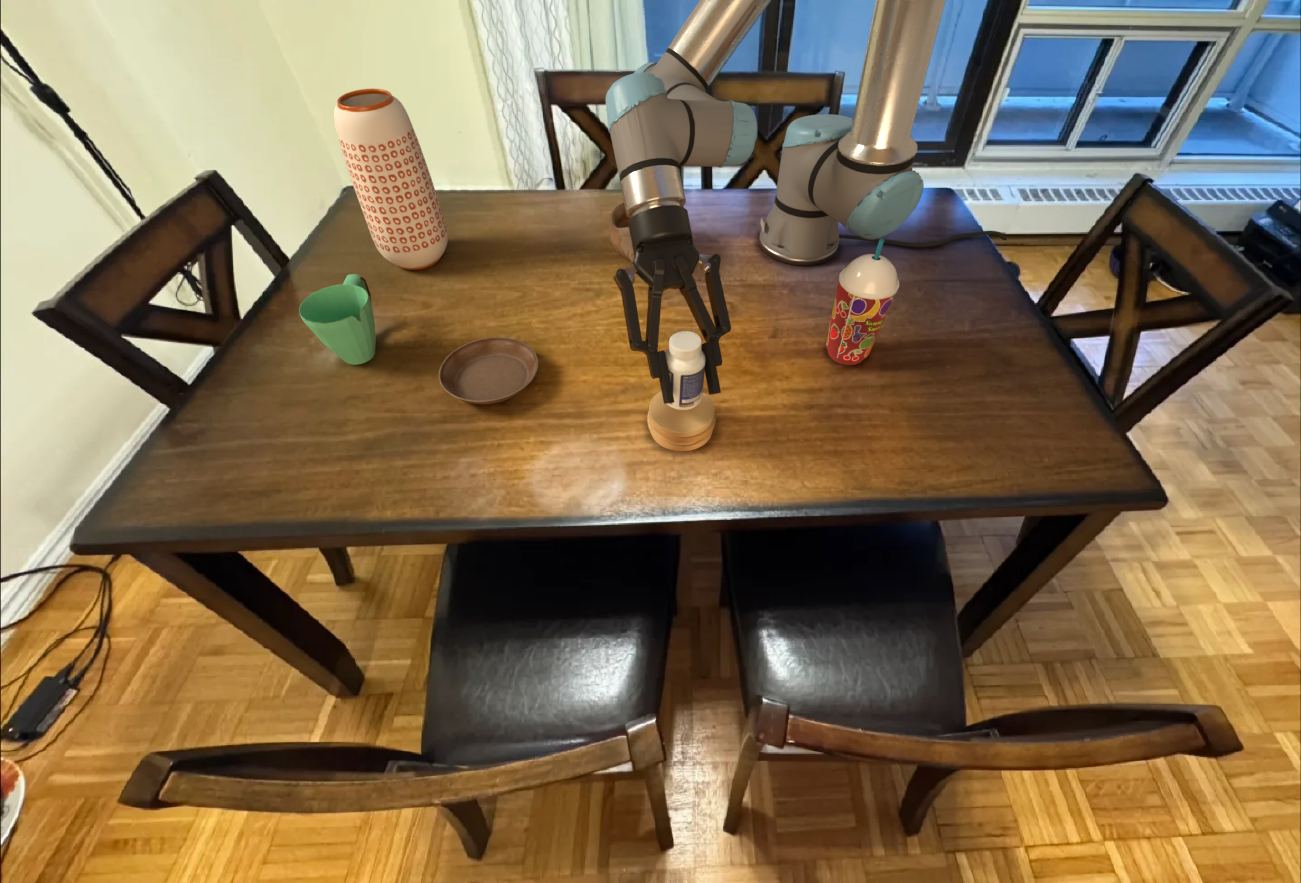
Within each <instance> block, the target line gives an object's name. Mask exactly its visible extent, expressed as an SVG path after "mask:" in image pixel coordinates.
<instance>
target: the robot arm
mask: <svg viewBox="0 0 1301 883" xmlns="http://www.w3.org/2000/svg"><path fill="white" fill-rule="evenodd" d="M771 1H772V0H699V1H698V3H697V4H696V6H695V7H694V8H693V10H692V11H691V13H690V14H689V16H688V17H687V19H686V20H685V22H684V23H683V25H681V26H682V27H681V28H680V29H679V30H678V32H677V34H676V35H675V37H674V38H673V40H672V41H671V43H670V44H669V45H668V47H667V48H666V50H665V52H664V53H663V54H662V56H661V57H660V58H659V60H658V61H657V62H656V61H651V62H650V61H649V62H646V63H644V64H642V65H641V66H639V67H638V68H637V69H636V70H635V71H634V72H633V73H630V74H627V75H625V76H622V77H620V78H619V79H617V80H616V81H614V82H613V83H612V84H611V86H610V88H609V89H608V90H607V92H606V95H605V112H606V116H607V117H606V120H607V126H608V128H607V129H608V133H609V134H610V135H609V136H610V140H611V142H612V150H613V153H614V159H615V162H616V168H617V174H618V178H619V183H620V187H621V194H622V199H623V202H624V205H625V210H626V215H627V216H628V217H629V218H631V219H630V221H629V223H628V226H629V231H630V236H631V242H632V247H633V252H634V259H633V262H631V264H630V265H628V266H626V267H625V268H618V269H617V270H616V271H615V274H614V276H613V280H614V282H615V284H616V286H617V288H618V290H619V291H620V294H621V295H620V296H621V301H622V307H623V314H624V318H625V319H624V320H625V325H626V332H627V337H628V343H629V348H630V350H631V351H633V352H639V353H640V352H641V353H643V354H645V356H646V360H647V365H648V370H649V375H650V377H651V378H652V379H653V380H654V379H658V381H659V385H660V391H662V396H663V401H664V404H668V403H673V402H674V397H673V392H672V387H671V381H670V376H669V371H668V366H667V361H666V356H665V352H666V350H664V349H663V350H658V348H659V336H660V324H661V323H660V321H661V312H662V311H661V310H662V299H663V298H662V297H663V293H664V292H665V291H668V290H678V291H679V292H680V294H681V296H682V297H683V299H684V300H685V302H686V304H687V306H688V308H689V311H690V313H691V314H692V316H693V319H694V322H695V323H696V325H697V327H698V329H699V331H700V333H701V336H702V337H703V339H704V341H705V342H703V343H702V344H701V350H702V351H703V352H704V354H705V358H706V362H705V372H704V376H705V381H706V384H707V391H708V395H716V394H721V393H722V391H721V390H722V389H721V386H720V380H719V374H718V369H717V367H720V366H722V365H723V357H722V352H721V345H720V339H721V338H722V337H723V336H725V335H727V334H729V333H730V332H731V330H732V324H731V320H730V314H729V311H728V307H727V302H726V297H725V292H724V288H723V283H722V279H721V278H722V277H721V274H720V269H721V262H722V257H721V255H720V254H719V253H713V254H712V255H710V254H704V253H700V251H699V249H698V248H697V247H696V246H695V244H694V239H693V233H692V227H691V222H690V221H691V220H690V215H689V210H688V209H687V208H686V207H684V206H685V205H686V203H687V199H686V194H685V190H684V185H683V180H682V175H681V168H680V167H698V168H699V167H702V168H703V167H706V168H707V167H708V168H709V167H713V168H714V167H717V168H724V167H733V166H739V165H742V164H744V163H745V162H747V160H748V159H749V158H750V157H751V156H752V153H753V152H754V149H755V145H756V141H757V139H758V121H757V117H756V114H755V112H754V110H753V109H752V108H751V106H750V105H749V104H747V103H743V102H738V101H734V99H733V100H732V99H729V100H726V101H725V100H724V101H723V100H719V99H716V98H715V97H713V96H712V95H710V94H708V93H707V90H708V89H709V88H710V86H711V85H712V83H713V82H714V80H715V79H716V78H717V77H718V75H719V74H720V72H721V71H722V70H723V68H724V67H725V66H726V64H727V63H728V61H729V60H730V59H731V57H732V56H733V55H734V52H736V50H737V49H738V47H739V46H740V44H741V43H742V42H743V40H744V39H745V38H746V36H747V35H748V33H749V32H750V31H751V30H752V28H753V27H754V25H755V23H756V22H757V21H758V20H759V18H760V17H761V15H762V14H763V12H765V10H766V8H767V7H768V6H769V5H770V3H771ZM946 2H947V0H874V6H873V9H872V15H871V16H872V17H871V21H870V27H869V32H868V37H867V43H866V48H865V53H864V58H863V59H864V60H863V64H862V69H861V74H860V75H861V76H860V80H859V85H858V91H857V96H856V102H855V106H854V113H853V118H852V117H849V116H845V115H841V114H831V113H830V114H828V113H827V114H825V113H824V114H823V113H822V114H821V113H820V114H819V113H818V114H811V115H805V116H801V117H799V118H795V119H794V120H793V121H791V122H790V123H789V125H788V126H787V128H786V131H785V136H784V140H783V143H782V144H781V145H782V146H781V147H782V149H781V156H780V163H779V170H778V176H777V183H776V188H775V189H776V190H775V196H774V202H773V205H772V206H771V208H770V211H769V213H768V214H767V216H766V219H765V221H764V219H763V217H762V216H761V217H760V223H759V224H760V226H761V228H760V231H759V238H758V245H759V248H760V249H761V251H762V252H763V253H764V254H765V255H766V256H768V257H770V258H772V259H773V260H776V261H778V262H780V263H783V264H788V265H793V266H814V265H819V264H824V263H825V262H828V261H830V260H831V259H832V258H833V257H835V256H836V254H837V252H838V248H839V244H840V239H844V240H845V239H846V240H855V241H864V242H871V243H879V240H880V239H881V238H883V239H884V243H883V244H887V245H888V244H889V245H893V246H894V245H895V246H900V247H901V246H902V247H909V248H930V247H937V246H940V245H944V244H946V243H950V242H952V241H955V240H959V239H963V238H972V237H979V236H986V235H987V236H988V235H993V236H996V237H998V238H1000V239H1001V240H1002V241H1008V240H1007V237H1006V235H1005V234H1003V233H1002V232H1000V231H997V230H982V231H975V232H968V233H959V234H956V235H952V236H950V237H947V238H945V239H942V240H938V241H933V242H907V241H900V240H892V239H886V238H884V237H885V236H888V235H889V234H891V233H892V232H894V231H895V230H897V229H898V228H900V226H902V225H903V223H904V222H906V221H907V220H908V219H909V217H910V216H911V215H912V213H913V212H914V211H915V210H916V209H917V206H918V204H919V203H920V201H921V199H922V196H923V193H924V187H925V186H924V184H925V183H924V179H922V175H920V173H919V172H917V171H916V170H913V169H914V168H913V167H914V163H915V159H916V157H917V153H918V144H917V142H916V140H915V139H914V137H913V136H912V135H911V134H912V131H913V127H914V123H915V119H916V116H917V111H918V108H919V105H920V100H921V96H922V92H923V90H924V85H925V82H926V81H925V80H926V79H927V78H926V77H927V74H928V70H929V66H930V63H931V62H930V61H931V59H932V55H933V51H934V47H935V43H936V40H937V36H938V32H939V28H940V24H941V20H942V17H943V14H944V13H943V12H944V9H945V5H946ZM839 224H840V225H842V226H843V227H844V228H845V229H846V230H847V231H848V232H850V233H853V234H855V235H850V234H840V232H839V231H840V230H839ZM697 265H699V267H700V271H701V272H702V273H703V274H704V280H705V287H706V290H707V296H708V299H709V304H710V309H711V313H712V317H711V315H710V313H709V311H708V309H707V307H706V304H705V302H704V300H703V298H702V296H701V293H700V291H699V290H698V284H697V282H696V280H695V278H694V276H693V274H694V272H695V269H696V267H697ZM635 275H637V276H638V277H639V278H640V279H641V280H642V281H643V282H644V283H645V284H646V285H647V286H648V289H647V311H646V325H645V339H644V340H643V338H642V336H643V335H642V331H641V326H640V319H639V312H638V307H637V301H636V300H637V299H636V293H635V288H634V283H635V282H636V277H635ZM712 318H713V319H712Z"/></svg>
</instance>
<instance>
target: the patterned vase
mask: <svg viewBox="0 0 1301 883" xmlns="http://www.w3.org/2000/svg"><path fill="white" fill-rule="evenodd" d="M336 103H337V104H336V105H335V107H334V109H333V123H334V127H335V130H336V131H335V132H336V135H337V138H338V142H339V145H340V148H341V152H342V156H343V159H344V161H345V165H346V167H347V170H348V174H349V177H350V181H351V183H352V187H353V189H354V192H355V195H356V198H357V200H358V203H359V206H360V208H361V211H362V214H363V217H364V220H365V222H366V225H367V229H368V230H369V233H370V237H371V239H372V241H373V243H374V246H375V247H376V249H377V251H378V252H379V253H380V255H381V256H382V257H383V258H384V259H385V260H387V261H388V262H390V263H392V265H395V266H397V267H398V268H400V269H402V270H407V271H418V270H419V271H420V270H424V269H427V268H430V267H432V266H434V265H436V264H437V263H438V262H439V261H440V260H441V258H443V254H444V253H445V251H446V248H447V247H448V242H449V232H448V226H447V223H446V220H445V216H444V214H443V210H442V208H441V203H440V201H439V197H438V195H437V192H436V188H435V185H434V182H433V179H432V176H431V173H430V170H429V167H428V165H427V162H426V161H427V160H426V159H425V156H424V153H423V150H422V147H421V144H420V142H419V139H418V136H417V134H416V132H415V129H414V126H413V124H412V121H411V119H410V116H409V114H408V112H407V110H406V108H405V106H404V104H403V103H402V102H401V101H400V100H399V99H398V98H397V97H395V96H394V95H392V92H390V91H388V90H386V89H382V88H362V89H355V90H352V91H349V92H345V93H344V94H342V95H340V96H339V97H338V99H337V100H336Z"/></svg>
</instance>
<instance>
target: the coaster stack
mask: <svg viewBox="0 0 1301 883" xmlns="http://www.w3.org/2000/svg"><path fill="white" fill-rule="evenodd" d="M646 418H647V427H648V430H649V432H650V435H651V437H652V439H653V440H654V441H655V442H656V443H657V444H658V445H659V446H661V447H663V448H665V449H667V450H671V451H673V452H690V451H694V450H697V449H699V448H701V447H703V446H704V445H705V444H706V443H707V442H708V441H709V440H710V439H711V437H712V435H713V430H714V429H715V426H716V421H717V413H716V408H715V406H714V403H713V401H712V398H710V396H708V395H707V394H706V393H705V392H703V394H702V399H701V401H700V403H699V404H698V405H697V406H696V407H694V408H692V409H688V410H678V409H674V408H672V407H670V406H669V405H667V404H664V401H663V396H662V391H661V390H660V391H659V392H656V394H655V395H654V396H653V397H652V398H651V400H650V401H649V405H648V411H647V417H646Z"/></svg>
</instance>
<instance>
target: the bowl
mask: <svg viewBox="0 0 1301 883" xmlns="http://www.w3.org/2000/svg"><path fill="white" fill-rule="evenodd" d="M630 219H631V218H629V217H628V216H627V215H626V210H625V205H624V201H623V202H621V203H619V204H618V205H616V206H615V207H614V209H613V210H612V211H611V213H610V215H609V232H608V236H609V241H610V242H609V243H610V244H611V245H612V247H613V248H614V250H615V251H616V252H617V253H618V254H619V255H620V256H621V257H623V258H625V259H627V260H629V261H631V263H632V262H633V259H634V252H633V247H632V242H631V236H630V231H629V226H628V223H629V221H630Z"/></svg>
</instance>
